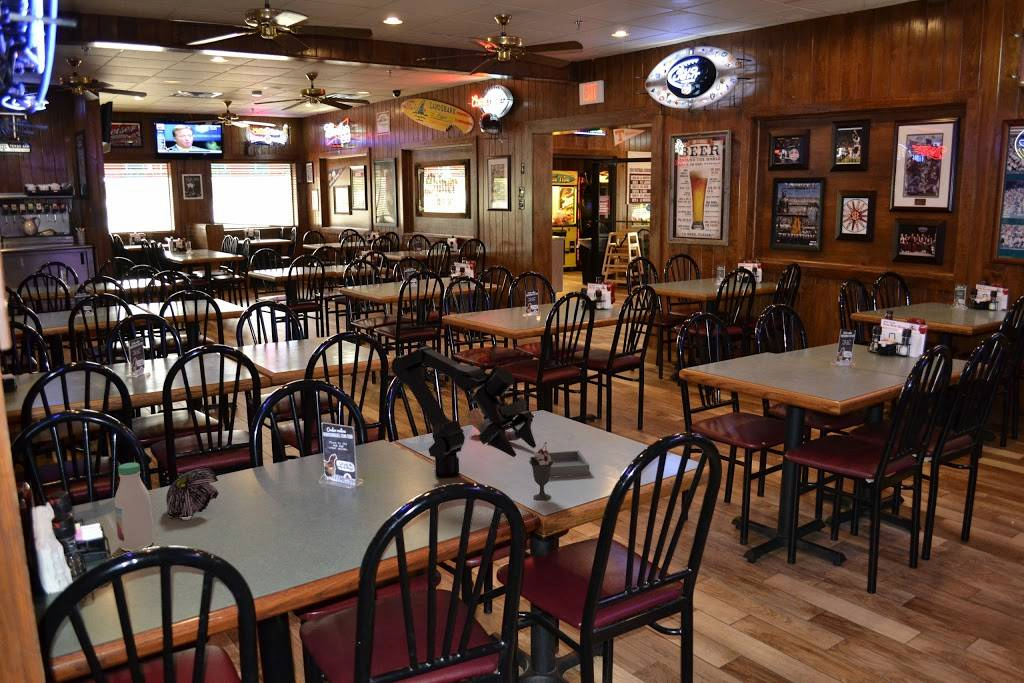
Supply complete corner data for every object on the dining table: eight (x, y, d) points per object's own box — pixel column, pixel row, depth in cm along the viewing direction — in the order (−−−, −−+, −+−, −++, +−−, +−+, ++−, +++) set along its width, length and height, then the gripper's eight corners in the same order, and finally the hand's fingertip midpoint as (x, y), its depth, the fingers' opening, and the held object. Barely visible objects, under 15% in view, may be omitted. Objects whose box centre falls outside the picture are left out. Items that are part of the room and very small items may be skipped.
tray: (543, 477, 238) (543, 467, 238) (534, 462, 252) (534, 453, 251) (589, 474, 240) (589, 464, 240) (578, 459, 253) (578, 450, 253)
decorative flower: (146, 477, 216) (201, 450, 223) (159, 509, 222) (213, 482, 230) (166, 506, 206) (222, 477, 214) (179, 539, 212) (234, 510, 220)
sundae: (554, 493, 226) (554, 440, 223) (553, 502, 219) (553, 447, 217) (530, 492, 227) (530, 439, 224) (528, 501, 220) (528, 447, 217)
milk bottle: (159, 538, 201) (151, 459, 197) (147, 552, 193) (138, 470, 190) (127, 539, 201) (119, 460, 197) (113, 553, 193) (104, 471, 189)
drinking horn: (475, 430, 287) (474, 402, 285) (538, 447, 267) (537, 417, 265) (464, 433, 283) (463, 405, 281) (526, 451, 263) (526, 420, 261)
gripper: (486, 396, 217) (521, 443, 212) (527, 382, 232) (561, 426, 227) (464, 420, 223) (498, 467, 218) (505, 405, 238) (538, 449, 233)
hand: (525, 451), depth 224 cm, fingers open, 9 cm apart
